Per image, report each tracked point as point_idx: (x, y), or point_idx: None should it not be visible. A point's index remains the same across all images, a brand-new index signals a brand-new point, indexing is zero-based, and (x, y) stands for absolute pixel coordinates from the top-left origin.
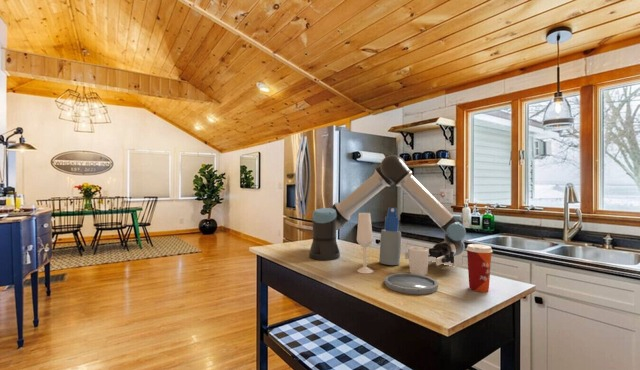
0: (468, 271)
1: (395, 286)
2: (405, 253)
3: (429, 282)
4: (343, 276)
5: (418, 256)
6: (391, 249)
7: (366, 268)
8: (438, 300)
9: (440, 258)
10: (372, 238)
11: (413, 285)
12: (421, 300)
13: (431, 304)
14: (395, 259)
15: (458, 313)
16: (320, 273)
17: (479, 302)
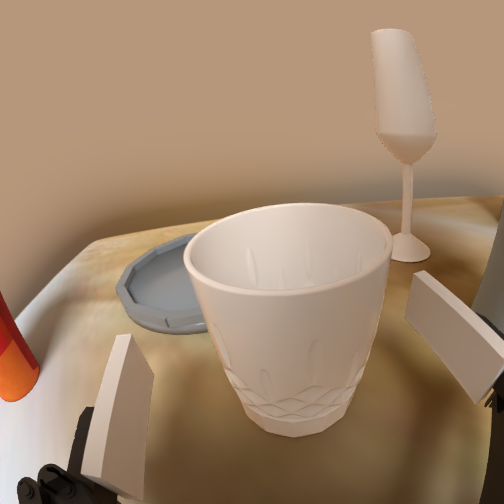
0: (8, 314)
1: None
2: (420, 276)
3: (152, 304)
4: None
5: (240, 256)
6: (495, 244)
7: (394, 237)
8: (111, 270)
9: (108, 380)
10: (389, 124)
11: (182, 263)
12: (141, 253)
13: (120, 256)
14: None
15: (79, 263)
16: (396, 202)
17: (38, 309)
